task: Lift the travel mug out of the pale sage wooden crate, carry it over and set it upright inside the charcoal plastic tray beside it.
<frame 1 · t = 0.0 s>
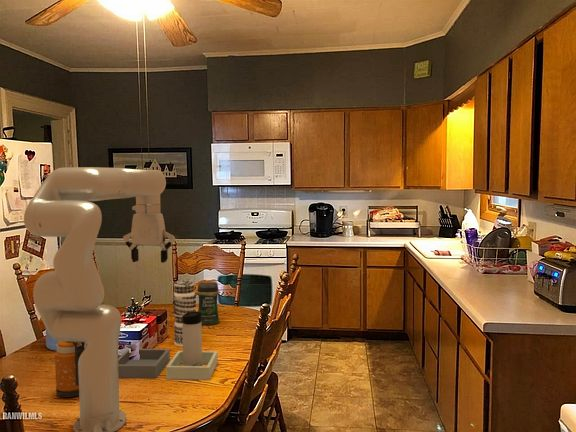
hand: (149, 261, 145), 37 cm above the table, tool pointing down, fingers open, 9 cm apart
decorative candle: (185, 342, 176), on the table
canister: (74, 393, 133), on the table
sage crate: (193, 370, 149), on the table
travel mug: (193, 371, 149), resting in sage crate
coffee jar: (208, 323, 201), on the table
charcoal tray: (141, 368, 151), on the table
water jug: (68, 344, 174), on the table
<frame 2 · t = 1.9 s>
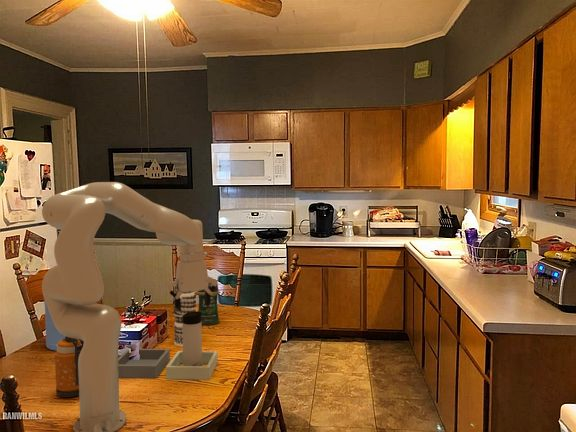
hand: (193, 307, 148), 21 cm above the table, tool pointing down, fingers open, 9 cm apart
nothing on the table moved.
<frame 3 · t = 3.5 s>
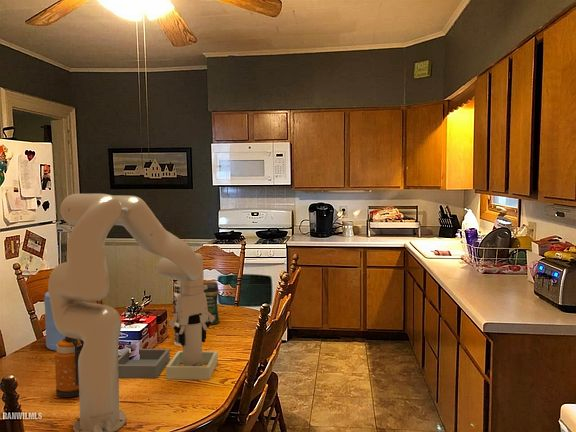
hand: (192, 342, 149), 10 cm above the table, tool pointing down, fingers closed on travel mug, 6 cm apart
travel mug: (193, 371, 149), resting in sage crate, touching gripper
everything else where it was.
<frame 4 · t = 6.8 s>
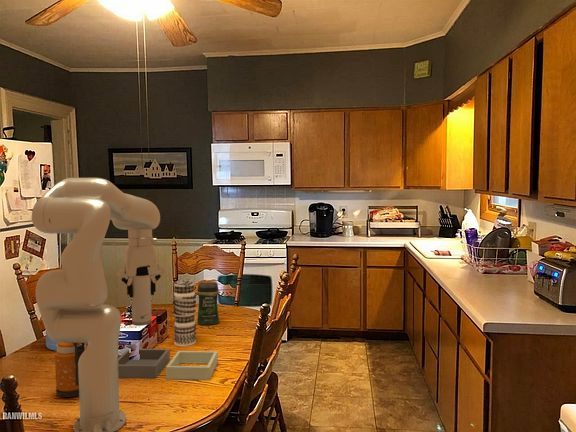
hand: (141, 295, 149), 25 cm above the table, tool pointing down, fingers closed on travel mug, 6 cm apart
travel mug: (142, 323, 150), point 16 cm above the table, touching gripper
everything else where it was.
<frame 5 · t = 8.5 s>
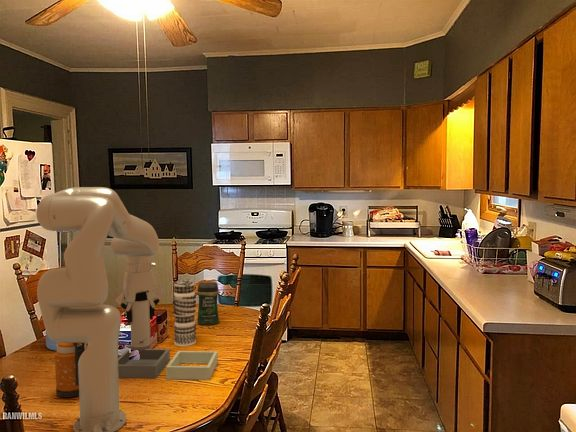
hand: (140, 319, 150), 17 cm above the table, tool pointing down, fingers closed on travel mug, 6 cm apart
travel mug: (141, 347, 151), point 7 cm above the table, touching gripper
everything else where it was.
when the fingers open (12 cm above the table, at t = 9.9 s): travel mug drops 2 cm, resting on charcoal tray.
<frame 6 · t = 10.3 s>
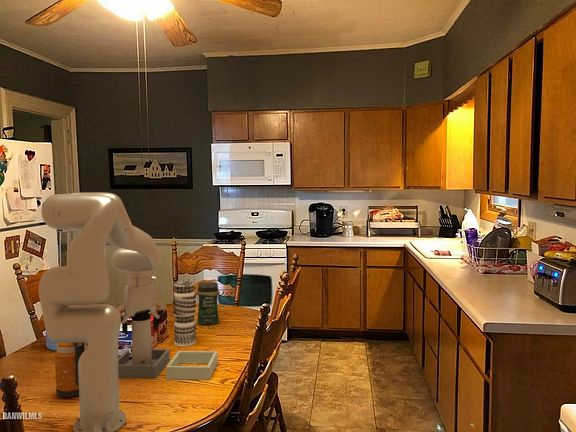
hand: (140, 331, 150), 13 cm above the table, tool pointing down, fingers open, 9 cm apart
travel mug: (142, 367, 151), resting on charcoal tray
everything else where it was.
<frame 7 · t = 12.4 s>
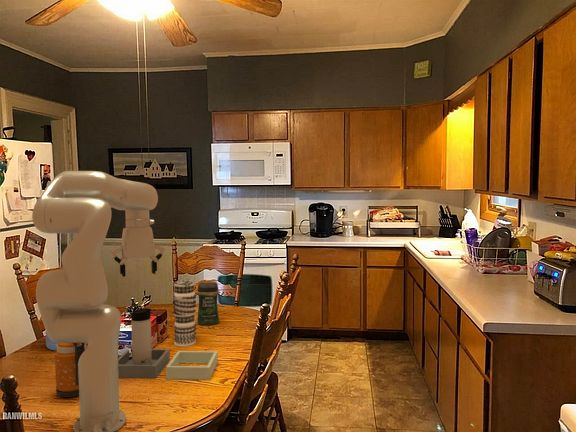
hand: (138, 274, 149), 32 cm above the table, tool pointing down, fingers open, 9 cm apart
nothing on the table moved.
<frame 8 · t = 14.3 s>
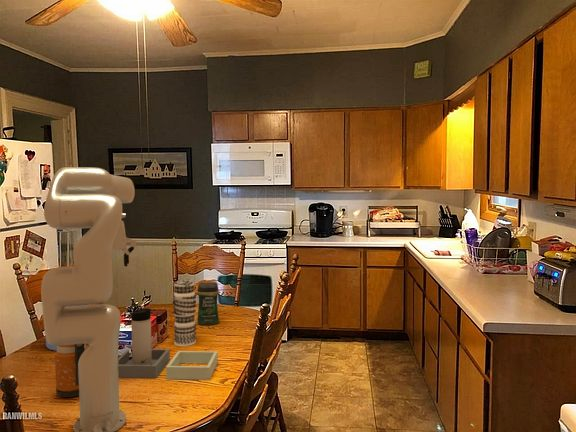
hand: (110, 267, 152), 34 cm above the table, tool pointing down, fingers open, 9 cm apart
nothing on the table moved.
at the end: travel mug inside the target area on the charcoal tray (0.4 cm from its centre), point 0.4 cm above the charcoal tray's base; travel mug tilted 0°; the gripper is holding nothing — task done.
